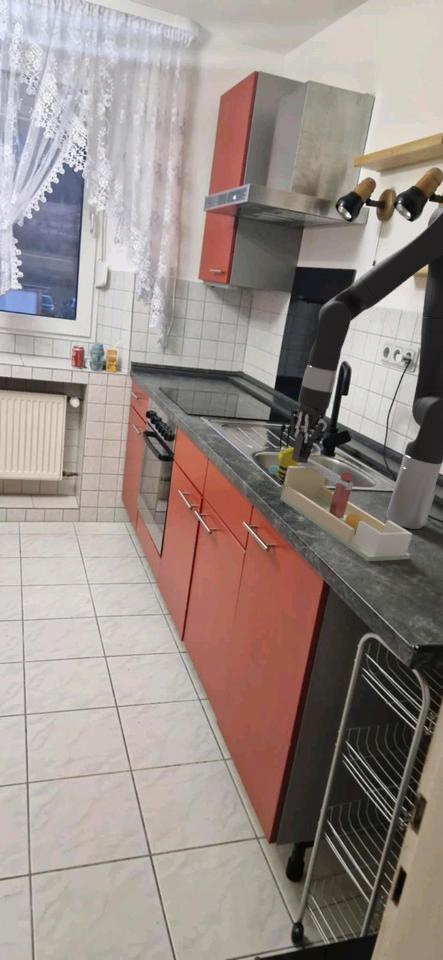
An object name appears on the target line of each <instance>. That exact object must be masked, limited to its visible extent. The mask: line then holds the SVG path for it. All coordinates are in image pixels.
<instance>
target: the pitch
mask: <svg viewBox="0 0 443 960" xmlns="http://www.w3.org/2000/svg"><path fill="white" fill-rule="evenodd" d="M326 479H327V478H326V477H324V476H322V475H321V474H319V473H317V472H316V471H314V470H312V469H311V468H309V467H305V466H298V467H296V466H288V468H287V473H286V477H285V481H284V482H283V485H282V490H281V495H280V499H279V500H280V501H282V502H284V503H285V504H286V505H288V506H289V507H291V508H292V509H294V510H295V511H296V512H298V513H299V514H301V516H304V518H306V519H307V520H309V522H311V523H313V524H315V526H317V527H319V528H320V529H321V530H323V531H324V532H326V533H327V534H329V535H330V536H331V537H333V538H334V539H336V540H337V541H339V542H340V543H341V544H342V545H344V546H345V547H347V548H348V549H350V550H351V551H352V552H354V553H355V554H357V555H358V556H359V557H361V558H362V559H364V561H367V562H383V561H399V560H410V558H411V554H410V553H409V552H408V549H409V545H410V543H411V539H412V536H413V533H412V532H410V531H408V530H407V529H405V528H404V527H402V526H399V525H397V524H395V523H393V522H392V521H389V520H386V522H385V523H384V522H382V521H381V520H379V519H378V518H376V517H375V516H373V515H371V514H369V513H368V512H367V511H365V510H363V509H362V508H359V507H358V506H356V505H355V504H353V503H352V502H350V501H348V503H347V506H346V510H345V514H344V517H343V518H337V517H335V516H334V515H332V514H331V513H329V510H330V506H331V503H332V499H333V495H334V491H332V490H330V489H329V488H327V487H326V486H325V484H326V483H325V482H326ZM352 513H356V514H359V515H360V516H361V517H362V519H363V521H359V523H358V527H357V530H356V531H355V529H353V528H352V527H350V526H349V525H347V524H346V523H345V519H346V517H347V516H348V515H349V514H352Z"/></svg>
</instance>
